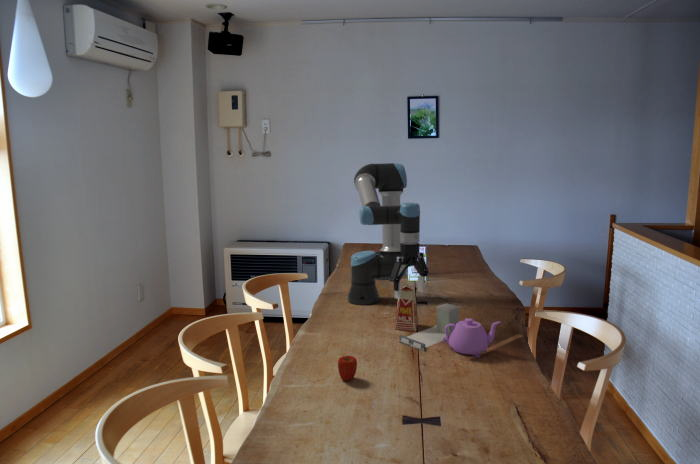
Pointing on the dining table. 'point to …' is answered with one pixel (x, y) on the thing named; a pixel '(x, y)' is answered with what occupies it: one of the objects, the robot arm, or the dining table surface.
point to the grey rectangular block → (447, 317)
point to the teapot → (469, 337)
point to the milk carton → (406, 310)
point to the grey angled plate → (423, 338)
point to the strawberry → (347, 367)
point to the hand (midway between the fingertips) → (409, 295)
